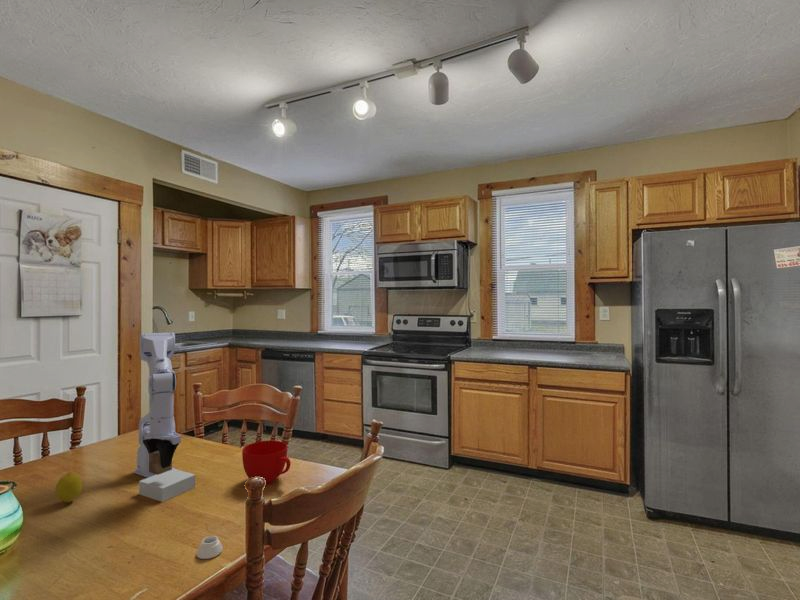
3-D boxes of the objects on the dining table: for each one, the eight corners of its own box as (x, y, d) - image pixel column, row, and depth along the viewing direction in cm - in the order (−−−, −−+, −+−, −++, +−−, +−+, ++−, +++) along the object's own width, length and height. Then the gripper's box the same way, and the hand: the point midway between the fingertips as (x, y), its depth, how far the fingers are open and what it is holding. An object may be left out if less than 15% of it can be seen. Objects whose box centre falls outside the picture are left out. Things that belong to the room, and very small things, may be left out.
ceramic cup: (271, 498, 114) (271, 461, 114) (232, 483, 123) (232, 449, 123) (305, 481, 125) (305, 448, 125) (267, 468, 134) (267, 437, 134)
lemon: (87, 499, 112) (87, 470, 112) (64, 509, 106) (65, 478, 106) (73, 496, 113) (73, 467, 113) (50, 505, 108) (50, 475, 108)
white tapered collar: (212, 544, 92) (191, 555, 88) (213, 530, 92) (192, 541, 88) (227, 551, 90) (206, 563, 85) (227, 537, 90) (206, 549, 85)
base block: (139, 495, 115) (139, 481, 115) (172, 481, 124) (172, 468, 124) (162, 503, 111) (162, 488, 111) (195, 488, 120) (195, 474, 120)
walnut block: (148, 471, 114) (149, 453, 114) (163, 466, 117) (163, 449, 117) (157, 474, 112) (157, 456, 112) (171, 469, 115) (172, 451, 115)
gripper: (131, 416, 115) (130, 464, 114) (163, 424, 108) (162, 476, 108) (156, 410, 121) (156, 456, 121) (188, 417, 114) (187, 466, 114)
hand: (160, 465), depth 115 cm, fingers closed on walnut block, 4 cm apart
